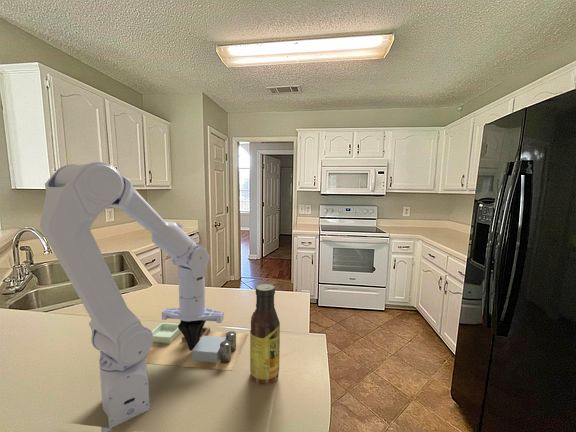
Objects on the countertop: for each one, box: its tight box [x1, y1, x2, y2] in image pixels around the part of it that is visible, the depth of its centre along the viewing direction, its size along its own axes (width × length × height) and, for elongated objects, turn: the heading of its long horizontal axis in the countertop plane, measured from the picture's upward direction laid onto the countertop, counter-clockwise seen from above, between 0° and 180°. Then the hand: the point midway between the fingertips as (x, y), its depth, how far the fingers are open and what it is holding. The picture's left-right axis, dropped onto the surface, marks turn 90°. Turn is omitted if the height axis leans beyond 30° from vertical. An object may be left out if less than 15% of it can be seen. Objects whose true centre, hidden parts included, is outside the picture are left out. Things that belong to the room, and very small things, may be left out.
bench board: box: [146, 326, 249, 371], centre depth 63 cm, size 25×14×2 cm, turn 84°
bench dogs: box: [220, 330, 237, 364], centre depth 60 cm, size 2×6×4 cm, turn 174°
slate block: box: [192, 336, 226, 363], centre depth 60 cm, size 6×6×2 cm
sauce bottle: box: [249, 283, 281, 386], centre depth 53 cm, size 6×6×20 cm
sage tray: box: [151, 322, 181, 344], centre depth 67 cm, size 6×6×2 cm
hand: (193, 348), depth 61 cm, fingers closed
